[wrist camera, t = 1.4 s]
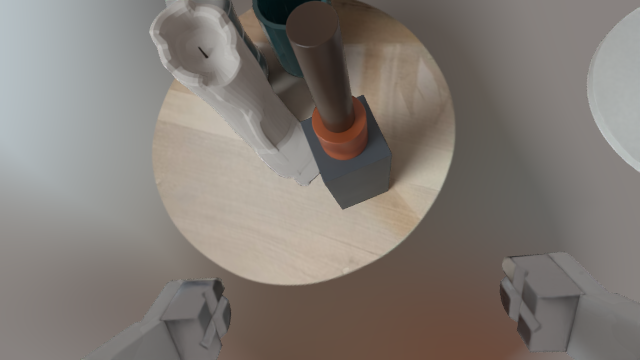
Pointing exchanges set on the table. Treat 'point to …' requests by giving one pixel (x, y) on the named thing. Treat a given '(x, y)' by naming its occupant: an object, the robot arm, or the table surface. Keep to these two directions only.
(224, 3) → the silver metal bottle
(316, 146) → the stand
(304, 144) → the candle
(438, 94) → the table surface
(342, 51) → the rod with orange collar
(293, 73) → the teal cup
